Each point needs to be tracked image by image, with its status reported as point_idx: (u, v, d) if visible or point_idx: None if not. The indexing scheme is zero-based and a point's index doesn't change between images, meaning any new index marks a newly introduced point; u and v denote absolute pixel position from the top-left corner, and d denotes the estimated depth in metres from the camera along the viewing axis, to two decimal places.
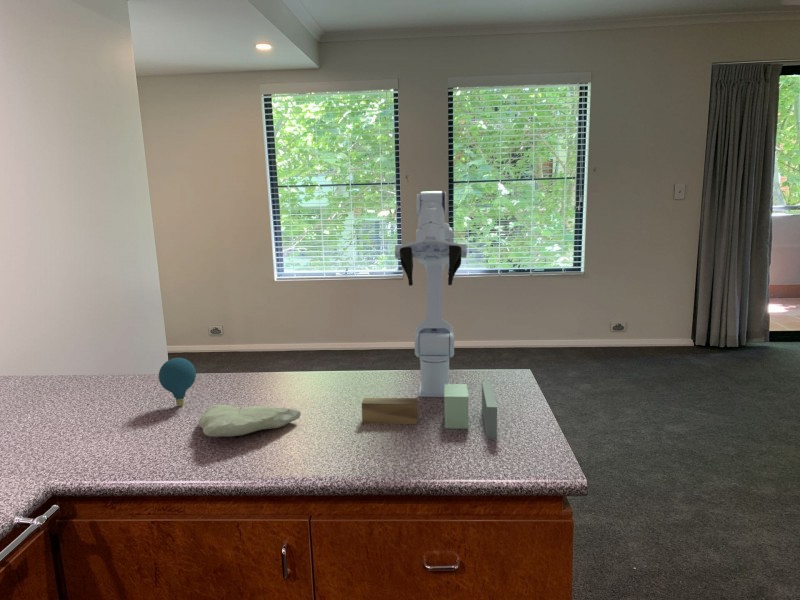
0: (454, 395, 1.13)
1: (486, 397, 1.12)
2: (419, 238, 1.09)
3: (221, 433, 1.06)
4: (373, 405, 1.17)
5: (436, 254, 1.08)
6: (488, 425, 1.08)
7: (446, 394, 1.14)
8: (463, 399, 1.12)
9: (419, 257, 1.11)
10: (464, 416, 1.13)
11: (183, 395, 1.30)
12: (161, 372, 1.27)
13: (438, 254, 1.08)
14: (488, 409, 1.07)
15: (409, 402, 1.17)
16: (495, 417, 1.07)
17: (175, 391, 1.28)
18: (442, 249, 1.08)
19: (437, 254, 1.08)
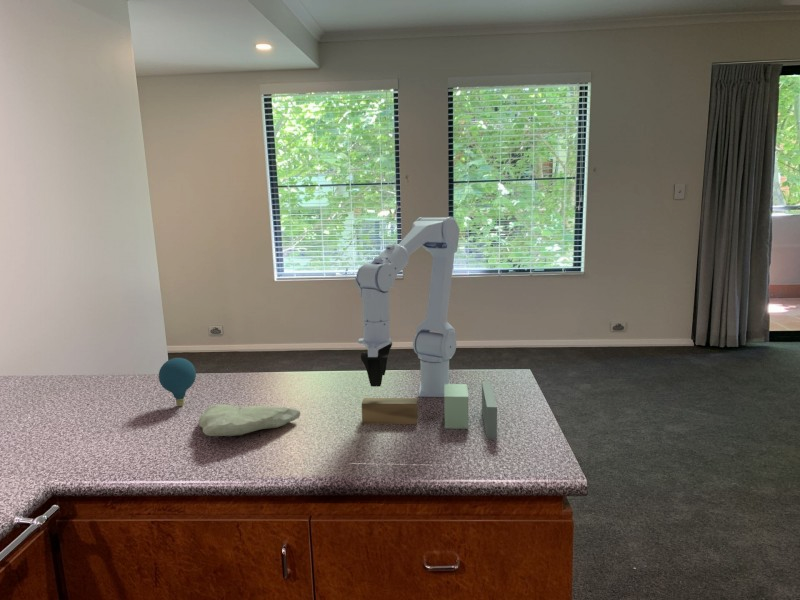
0: (454, 395, 1.13)
1: (486, 397, 1.12)
2: None
3: (221, 433, 1.06)
4: (373, 405, 1.17)
5: None
6: (488, 425, 1.08)
7: (446, 394, 1.14)
8: (463, 399, 1.12)
9: None
10: (464, 416, 1.13)
11: (183, 395, 1.30)
12: (161, 372, 1.27)
13: None
14: (488, 409, 1.07)
15: (409, 402, 1.17)
16: (495, 417, 1.07)
17: (175, 391, 1.28)
18: None
19: None
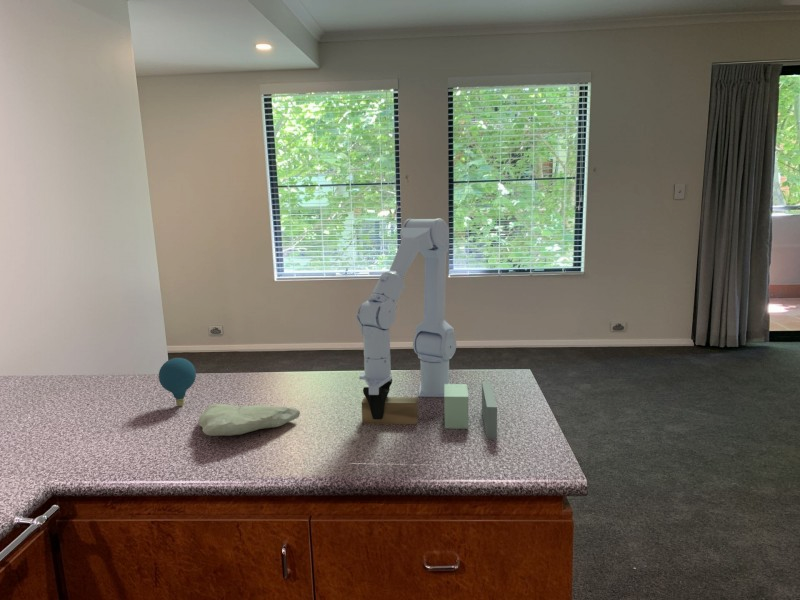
0: (454, 395, 1.13)
1: (486, 397, 1.12)
2: None
3: (221, 432, 1.07)
4: None
5: None
6: (488, 425, 1.08)
7: (446, 394, 1.14)
8: (463, 399, 1.12)
9: None
10: (464, 416, 1.13)
11: (183, 395, 1.30)
12: (161, 372, 1.27)
13: None
14: (488, 409, 1.07)
15: (409, 401, 1.17)
16: (495, 417, 1.07)
17: (175, 391, 1.28)
18: None
19: None
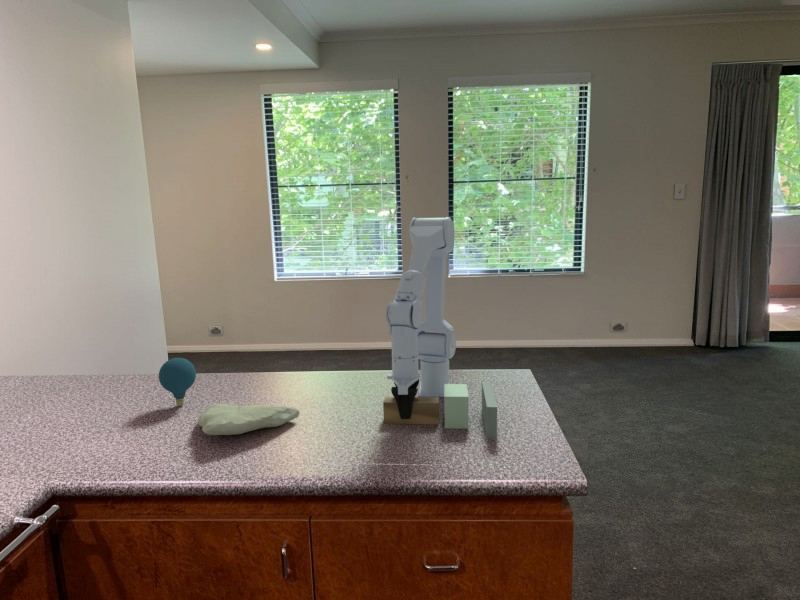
0: (454, 395, 1.13)
1: (486, 397, 1.12)
2: None
3: (220, 431, 1.07)
4: (395, 404, 1.16)
5: None
6: (488, 425, 1.08)
7: (446, 394, 1.14)
8: (463, 399, 1.12)
9: None
10: (464, 416, 1.13)
11: (183, 395, 1.30)
12: (161, 372, 1.27)
13: None
14: (488, 409, 1.07)
15: (431, 401, 1.16)
16: (495, 417, 1.07)
17: (175, 391, 1.28)
18: None
19: None
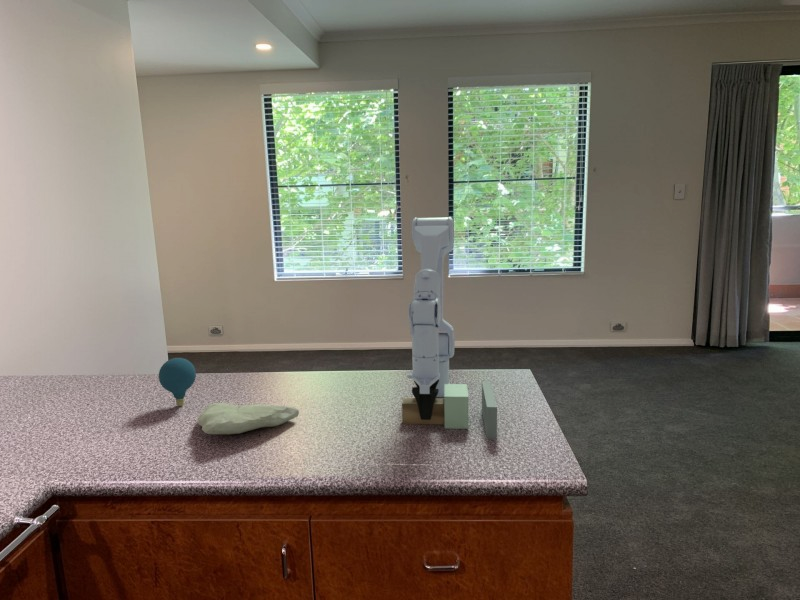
0: (454, 395, 1.13)
1: (486, 397, 1.12)
2: None
3: (220, 431, 1.07)
4: (414, 405, 1.16)
5: None
6: (488, 425, 1.08)
7: (446, 394, 1.14)
8: (463, 399, 1.12)
9: None
10: (464, 416, 1.13)
11: (183, 395, 1.30)
12: (161, 372, 1.27)
13: None
14: (488, 409, 1.07)
15: None
16: (495, 417, 1.07)
17: (175, 391, 1.28)
18: None
19: None
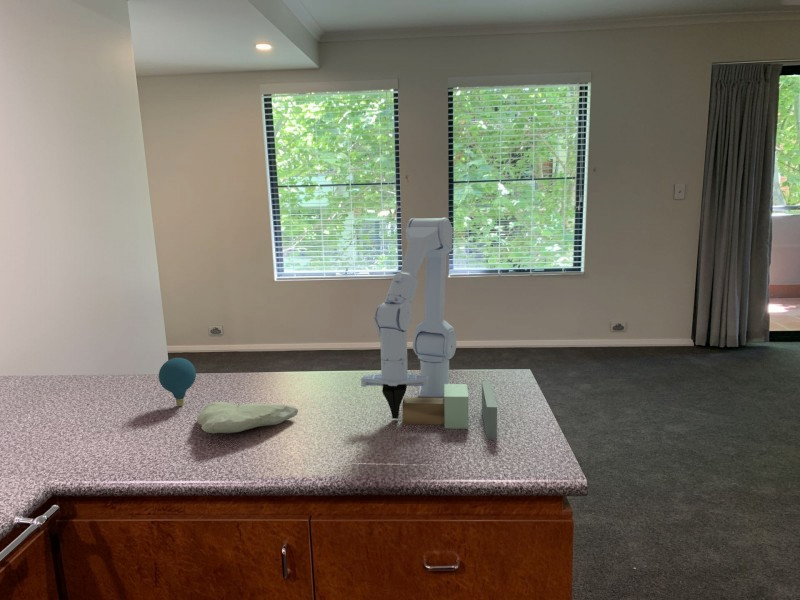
0: (454, 395, 1.13)
1: (486, 397, 1.12)
2: (383, 374, 1.15)
3: (219, 429, 1.08)
4: (414, 405, 1.16)
5: None
6: (488, 425, 1.08)
7: (446, 394, 1.14)
8: (463, 399, 1.12)
9: None
10: (464, 416, 1.13)
11: (183, 395, 1.30)
12: (161, 372, 1.27)
13: None
14: (488, 409, 1.07)
15: None
16: (495, 417, 1.07)
17: (175, 391, 1.28)
18: None
19: None
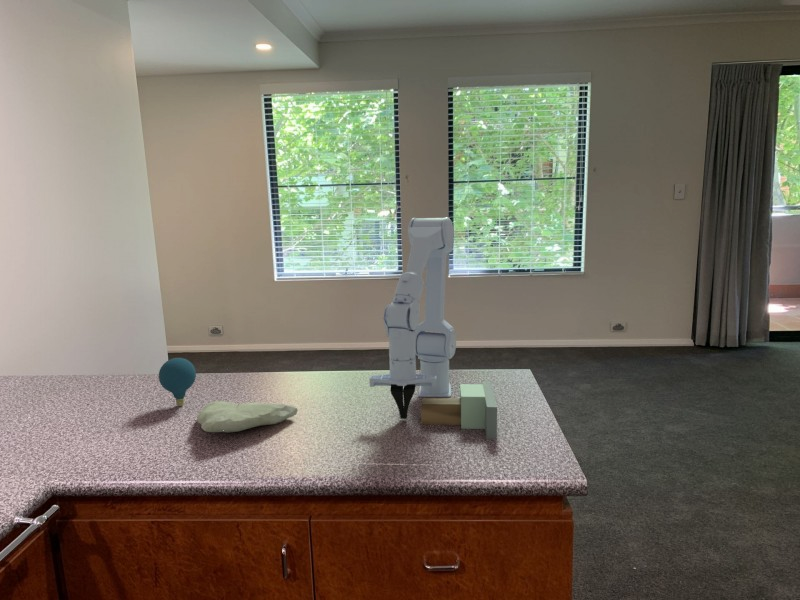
0: (471, 395, 1.13)
1: (486, 397, 1.12)
2: (391, 374, 1.15)
3: (219, 429, 1.08)
4: (433, 406, 1.16)
5: None
6: (488, 425, 1.08)
7: (463, 395, 1.13)
8: (479, 399, 1.12)
9: None
10: (481, 416, 1.13)
11: (183, 395, 1.30)
12: (161, 372, 1.27)
13: None
14: (488, 409, 1.07)
15: None
16: (495, 417, 1.07)
17: (175, 391, 1.28)
18: None
19: None
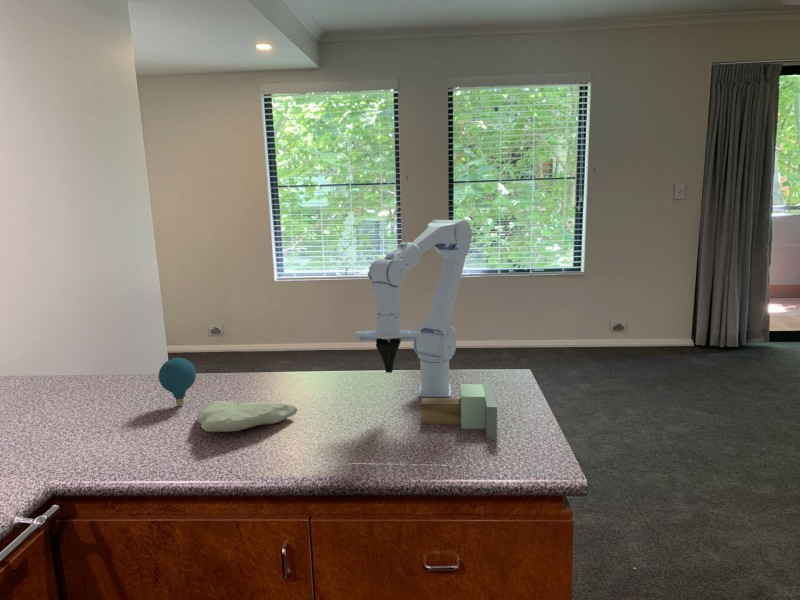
0: (471, 395, 1.13)
1: (486, 397, 1.12)
2: (377, 328, 1.19)
3: (219, 428, 1.08)
4: (433, 406, 1.16)
5: None
6: (488, 425, 1.08)
7: (463, 395, 1.13)
8: (479, 399, 1.12)
9: None
10: (481, 416, 1.13)
11: (183, 395, 1.30)
12: (161, 372, 1.27)
13: None
14: (488, 409, 1.07)
15: None
16: (495, 417, 1.07)
17: (175, 391, 1.28)
18: (398, 338, 1.20)
19: None
